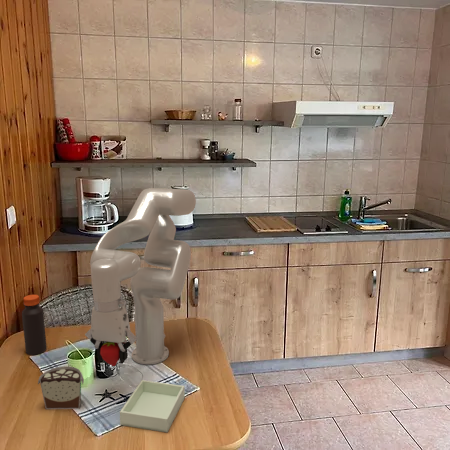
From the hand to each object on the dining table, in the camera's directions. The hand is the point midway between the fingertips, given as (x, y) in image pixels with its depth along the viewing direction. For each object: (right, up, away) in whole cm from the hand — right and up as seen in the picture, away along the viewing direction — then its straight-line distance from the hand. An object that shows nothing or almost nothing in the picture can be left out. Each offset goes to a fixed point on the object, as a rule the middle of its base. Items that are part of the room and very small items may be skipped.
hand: (112, 359), depth 129 cm
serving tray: (+13, -13, -4) cm, 19 cm away
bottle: (-34, -5, +27) cm, 44 cm away
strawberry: (0, -2, +1) cm, 2 cm away
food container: (-13, -12, -1) cm, 18 cm away
